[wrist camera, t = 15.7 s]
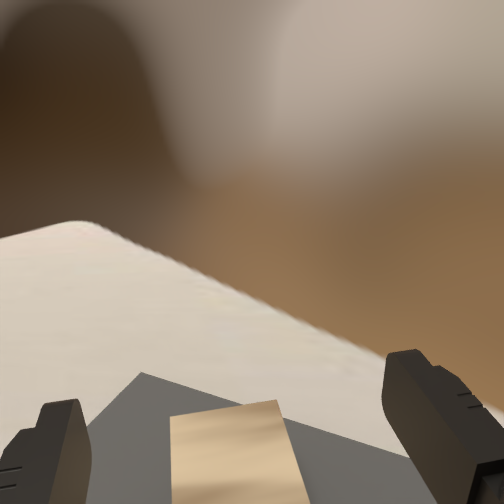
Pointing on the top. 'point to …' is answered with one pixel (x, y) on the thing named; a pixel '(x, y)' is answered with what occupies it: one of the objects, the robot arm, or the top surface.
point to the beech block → (234, 457)
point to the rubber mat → (191, 401)
